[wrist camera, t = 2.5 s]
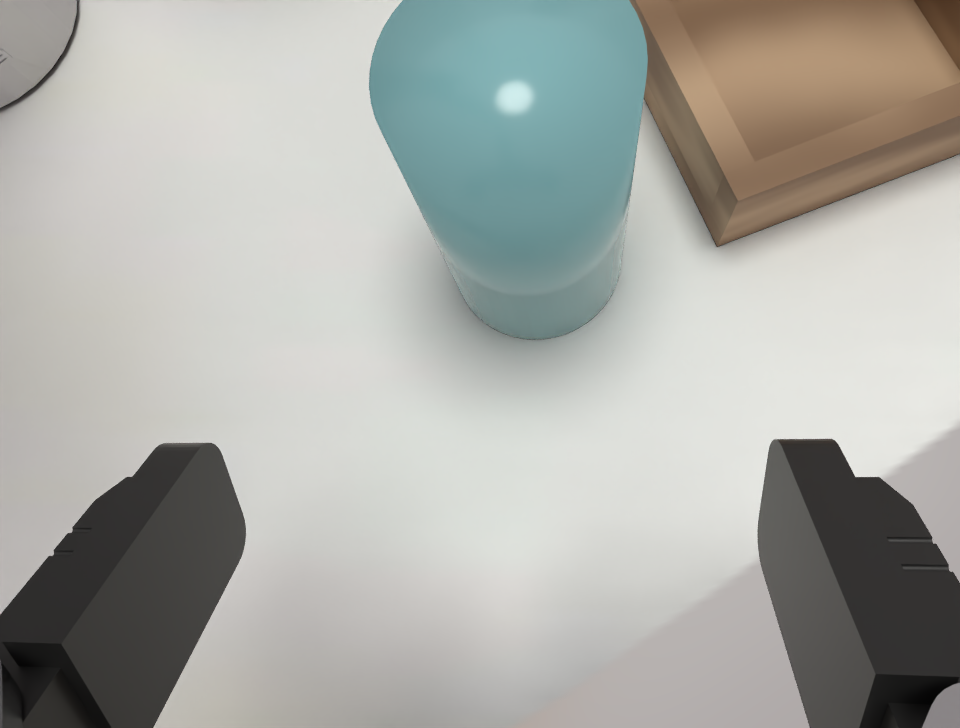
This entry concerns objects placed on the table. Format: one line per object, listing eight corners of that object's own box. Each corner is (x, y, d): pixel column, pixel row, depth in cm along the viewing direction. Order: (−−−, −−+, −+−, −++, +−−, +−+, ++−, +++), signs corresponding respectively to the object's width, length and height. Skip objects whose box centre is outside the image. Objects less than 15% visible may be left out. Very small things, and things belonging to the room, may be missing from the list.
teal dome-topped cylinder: (434, 219, 27) (337, 11, 16) (583, 160, 27) (584, -91, 16) (487, 364, 25) (418, 236, 15) (647, 303, 25) (694, 127, 14)
